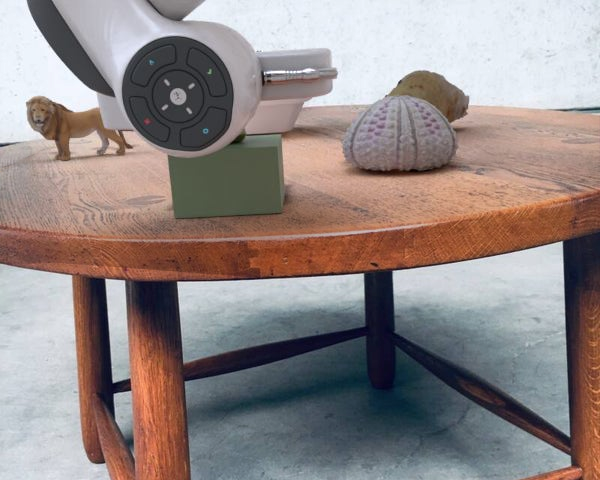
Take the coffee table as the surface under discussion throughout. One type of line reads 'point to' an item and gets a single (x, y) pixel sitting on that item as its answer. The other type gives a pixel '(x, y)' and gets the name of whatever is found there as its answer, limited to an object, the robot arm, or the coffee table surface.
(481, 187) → the coffee table surface
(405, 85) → the mineral
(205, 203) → the block
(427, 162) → the sea urchin shell
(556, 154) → the coffee table surface
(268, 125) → the bowl
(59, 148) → the lion figurine
